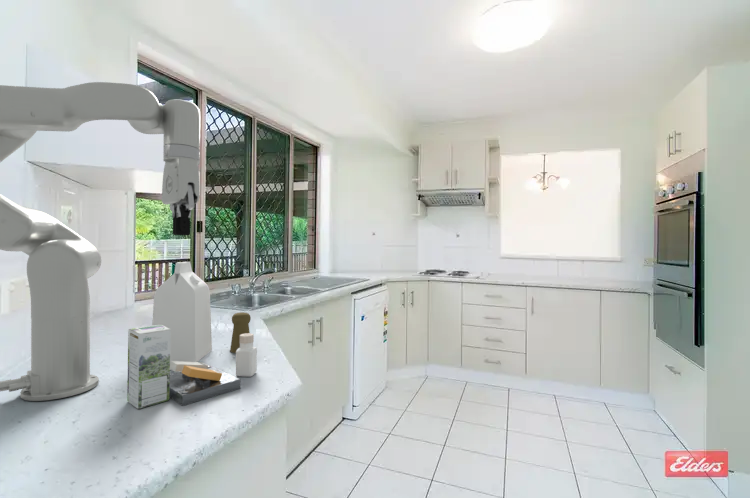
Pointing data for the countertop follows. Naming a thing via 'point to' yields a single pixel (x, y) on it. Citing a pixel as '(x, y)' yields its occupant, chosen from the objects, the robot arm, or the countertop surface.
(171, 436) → the countertop surface
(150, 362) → the syrup box
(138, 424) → the countertop surface
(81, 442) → the countertop surface
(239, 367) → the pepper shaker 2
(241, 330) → the pepper shaker
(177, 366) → the rocker white
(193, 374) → the rocker orange
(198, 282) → the milk
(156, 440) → the countertop surface
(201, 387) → the breaker panel
